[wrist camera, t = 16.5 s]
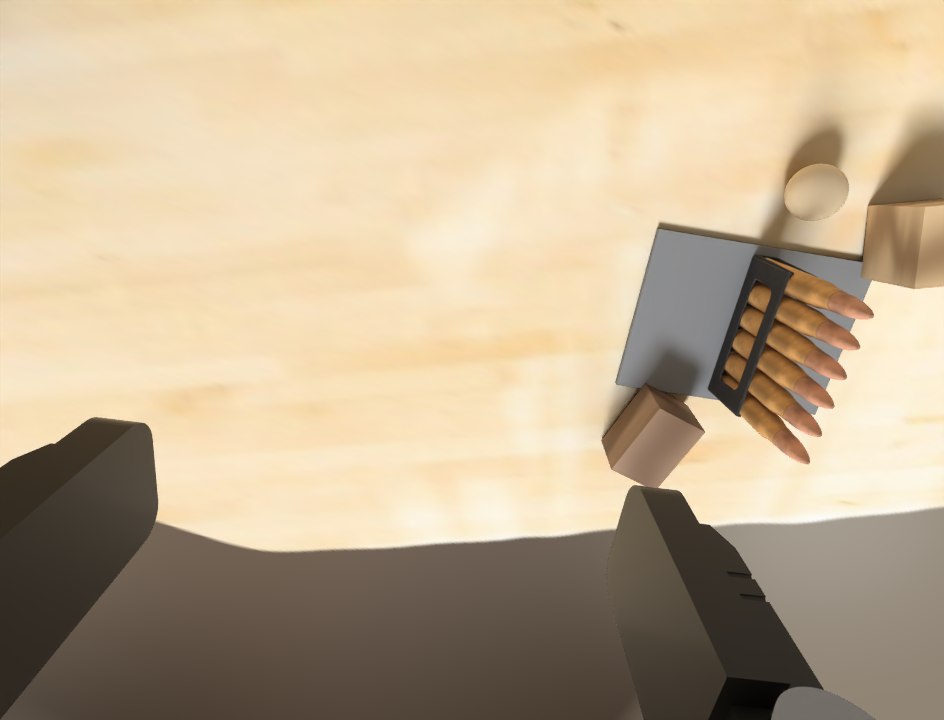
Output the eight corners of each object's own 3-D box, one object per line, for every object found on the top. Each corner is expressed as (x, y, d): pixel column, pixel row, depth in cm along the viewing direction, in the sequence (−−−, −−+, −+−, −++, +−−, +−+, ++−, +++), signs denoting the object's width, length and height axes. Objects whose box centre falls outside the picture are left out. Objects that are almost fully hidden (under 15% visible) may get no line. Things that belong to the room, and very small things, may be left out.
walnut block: (601, 440, 45) (611, 469, 41) (645, 382, 43) (659, 408, 39) (641, 460, 46) (655, 490, 42) (687, 404, 44) (705, 432, 40)
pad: (657, 228, 39) (659, 229, 39) (874, 263, 40) (878, 264, 39) (615, 382, 43) (616, 384, 43) (812, 412, 44) (815, 414, 44)
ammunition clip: (753, 253, 39) (862, 295, 28) (778, 257, 39) (897, 301, 28) (706, 389, 43) (786, 474, 32) (730, 393, 43) (817, 479, 32)
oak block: (868, 205, 38) (925, 207, 33) (942, 198, 38) (1009, 198, 33) (860, 278, 40) (914, 288, 35) (932, 271, 40) (995, 281, 35)
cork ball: (784, 158, 37) (814, 159, 34) (836, 167, 38) (871, 169, 34) (766, 213, 39) (793, 219, 35) (816, 221, 39) (848, 228, 35)
